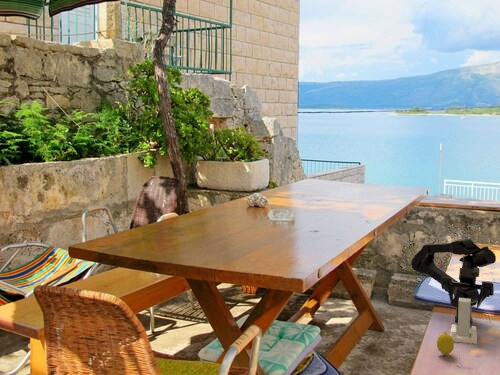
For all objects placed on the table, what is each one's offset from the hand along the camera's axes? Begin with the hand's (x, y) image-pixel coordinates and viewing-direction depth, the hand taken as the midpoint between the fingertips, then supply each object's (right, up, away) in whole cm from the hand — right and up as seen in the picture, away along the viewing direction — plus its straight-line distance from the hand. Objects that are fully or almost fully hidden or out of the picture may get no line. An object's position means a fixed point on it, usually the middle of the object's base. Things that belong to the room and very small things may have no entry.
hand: (464, 306), depth 223 cm
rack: (-1, -11, -3) cm, 12 cm away
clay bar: (-1, -10, -3) cm, 10 cm away
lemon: (-13, -14, -18) cm, 26 cm away
